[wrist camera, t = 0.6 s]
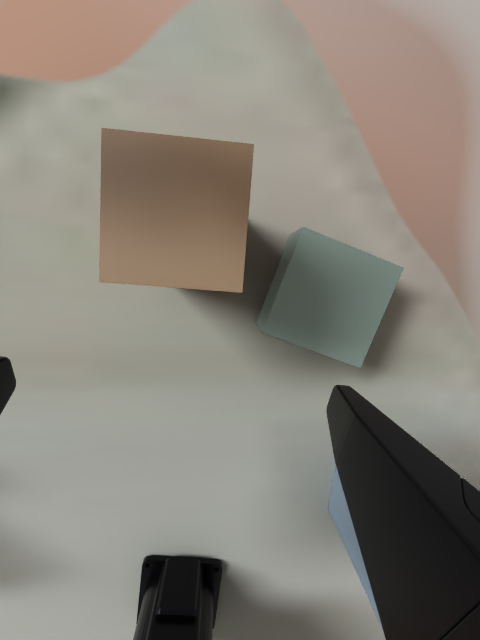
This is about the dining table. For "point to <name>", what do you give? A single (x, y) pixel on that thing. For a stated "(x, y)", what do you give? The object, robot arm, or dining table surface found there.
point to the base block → (328, 296)
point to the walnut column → (173, 210)
